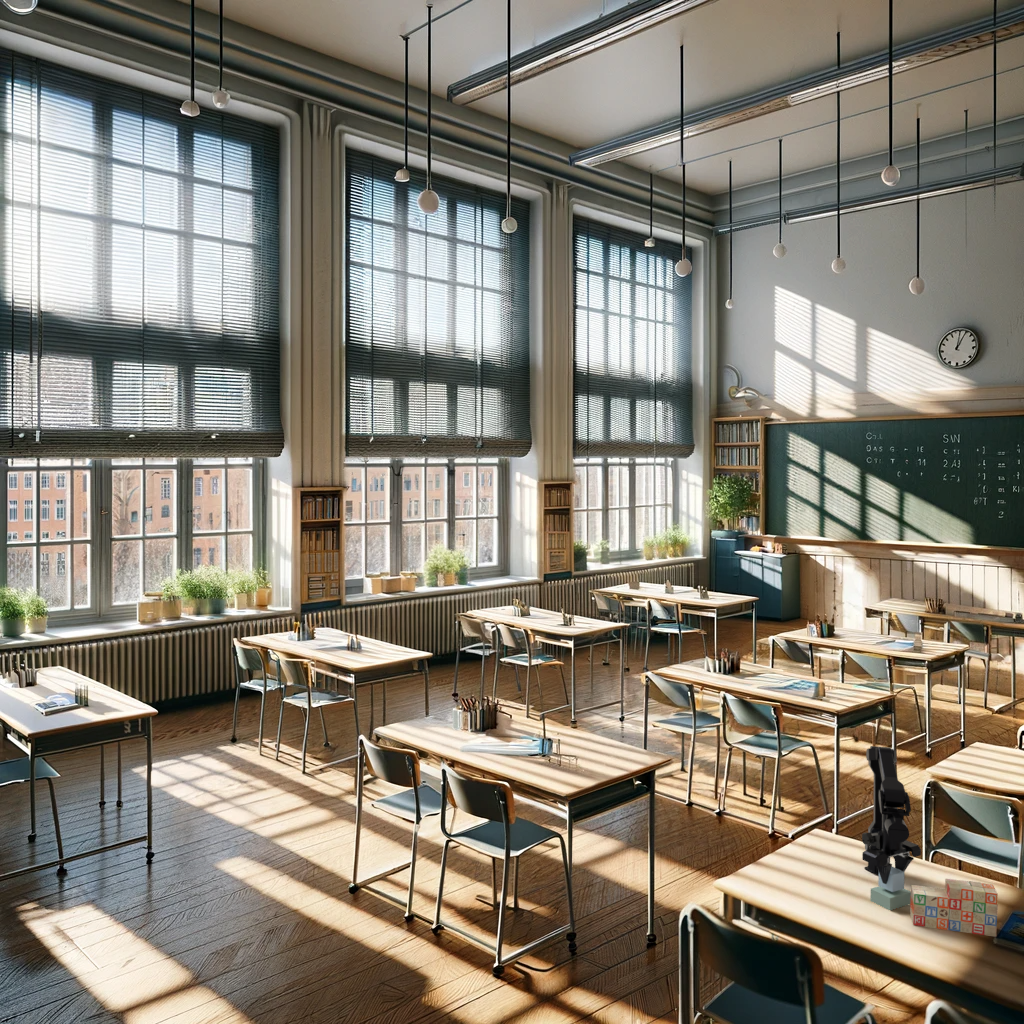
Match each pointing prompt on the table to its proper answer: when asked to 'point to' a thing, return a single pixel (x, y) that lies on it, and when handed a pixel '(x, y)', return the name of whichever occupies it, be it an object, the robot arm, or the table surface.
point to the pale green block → (890, 897)
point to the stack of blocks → (956, 907)
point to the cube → (893, 880)
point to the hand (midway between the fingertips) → (891, 881)
